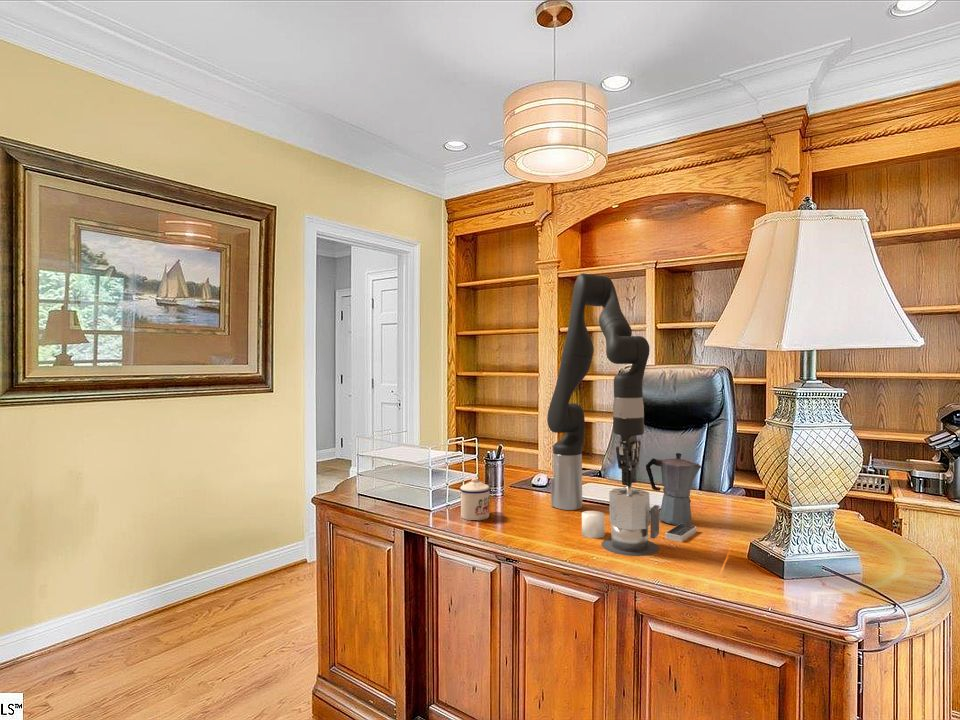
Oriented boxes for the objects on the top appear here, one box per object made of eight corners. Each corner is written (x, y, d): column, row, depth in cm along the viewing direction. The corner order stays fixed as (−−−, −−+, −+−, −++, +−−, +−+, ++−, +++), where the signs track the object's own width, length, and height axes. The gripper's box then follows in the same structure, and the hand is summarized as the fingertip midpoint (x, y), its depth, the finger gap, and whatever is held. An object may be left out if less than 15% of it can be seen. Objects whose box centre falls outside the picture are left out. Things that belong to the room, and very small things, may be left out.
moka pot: (705, 528, 151) (704, 456, 151) (648, 525, 154) (647, 455, 154) (698, 518, 160) (698, 450, 160) (644, 515, 163) (644, 449, 163)
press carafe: (606, 548, 134) (606, 493, 134) (617, 537, 142) (617, 486, 142) (652, 556, 128) (651, 499, 128) (661, 545, 136) (660, 491, 136)
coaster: (593, 551, 133) (593, 549, 133) (611, 535, 145) (611, 533, 145) (651, 561, 126) (651, 559, 126) (664, 543, 138) (664, 542, 138)
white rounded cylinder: (578, 537, 144) (578, 515, 144) (586, 531, 149) (586, 509, 149) (600, 541, 141) (600, 518, 141) (607, 534, 146) (607, 512, 146)
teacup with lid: (478, 523, 157) (478, 483, 157) (454, 518, 163) (453, 479, 163) (501, 513, 167) (500, 475, 167) (477, 508, 172) (476, 472, 172)
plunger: (617, 518, 135) (617, 462, 135) (623, 513, 139) (622, 459, 139) (636, 520, 132) (635, 463, 133) (641, 516, 136) (640, 460, 136)
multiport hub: (665, 541, 141) (664, 532, 141) (680, 531, 149) (680, 522, 149) (681, 545, 138) (681, 536, 138) (697, 534, 146) (697, 526, 146)
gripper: (621, 412, 144) (622, 476, 144) (604, 417, 132) (605, 487, 132) (650, 413, 140) (651, 479, 140) (635, 418, 128) (636, 491, 128)
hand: (629, 483), depth 136 cm, fingers closed on plunger, 3 cm apart
